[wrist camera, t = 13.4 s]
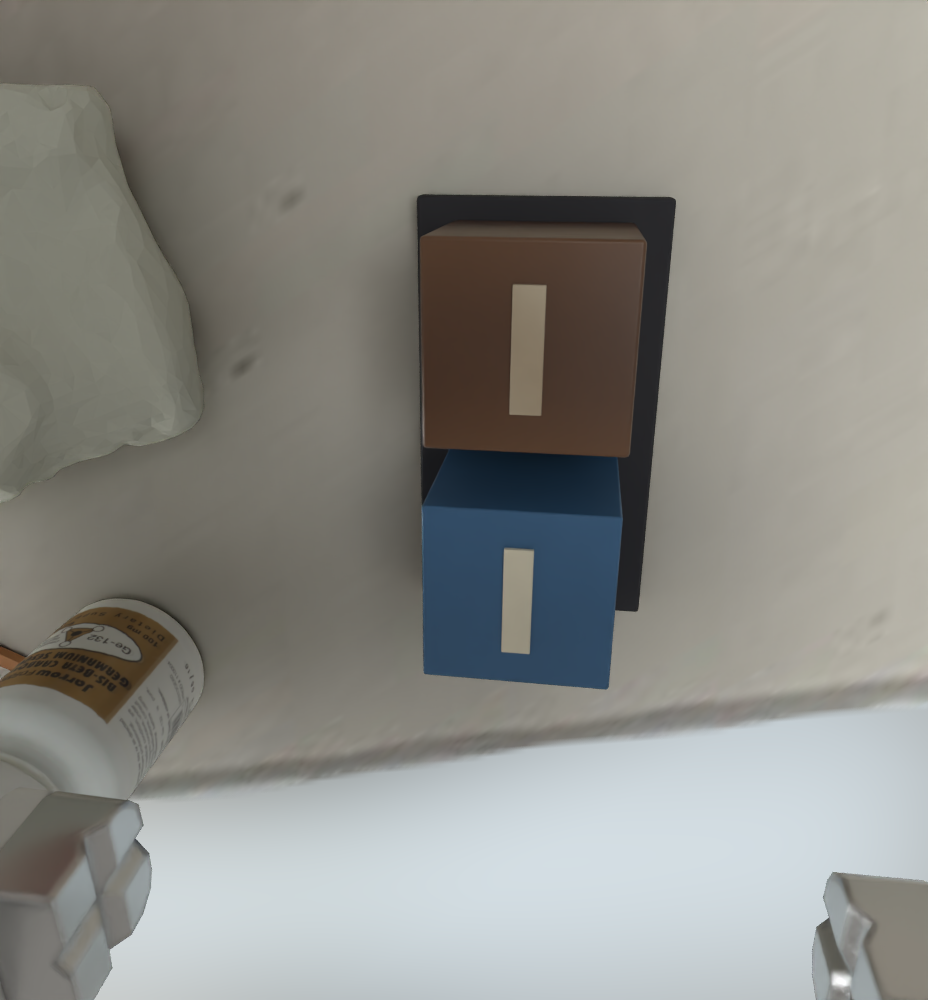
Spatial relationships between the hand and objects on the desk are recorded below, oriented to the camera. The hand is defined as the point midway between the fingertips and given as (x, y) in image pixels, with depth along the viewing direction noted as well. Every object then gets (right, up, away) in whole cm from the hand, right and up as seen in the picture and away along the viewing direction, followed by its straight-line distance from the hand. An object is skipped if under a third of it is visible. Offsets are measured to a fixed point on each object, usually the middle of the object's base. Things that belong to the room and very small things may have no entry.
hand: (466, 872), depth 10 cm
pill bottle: (-10, 0, +15) cm, 18 cm away
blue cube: (+2, +4, +11) cm, 12 cm away
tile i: (+2, +9, +9) cm, 13 cm away
